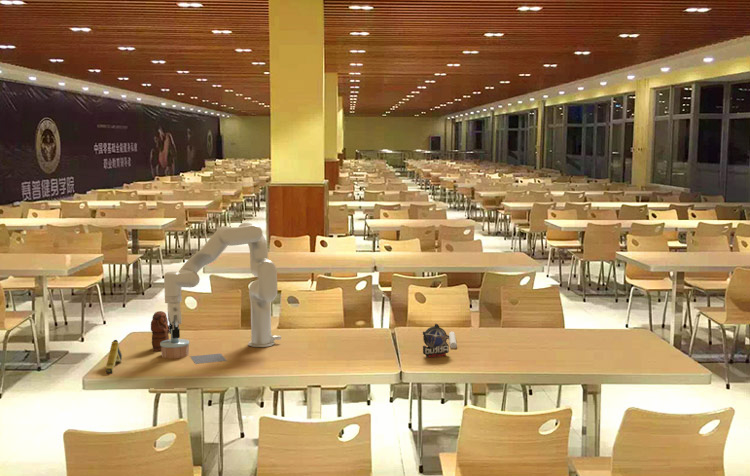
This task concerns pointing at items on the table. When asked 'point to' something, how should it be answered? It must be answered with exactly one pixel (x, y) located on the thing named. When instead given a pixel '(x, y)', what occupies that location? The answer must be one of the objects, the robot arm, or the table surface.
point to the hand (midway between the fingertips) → (174, 335)
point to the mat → (208, 358)
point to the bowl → (175, 352)
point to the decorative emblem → (435, 342)
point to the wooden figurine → (159, 329)
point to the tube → (452, 340)
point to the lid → (174, 342)
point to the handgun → (113, 356)
